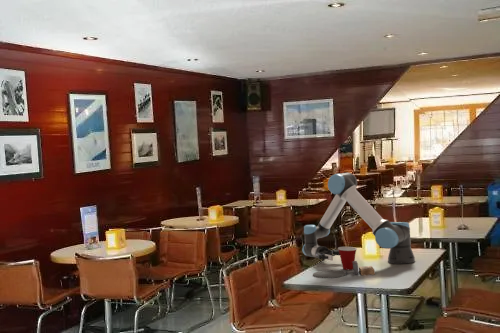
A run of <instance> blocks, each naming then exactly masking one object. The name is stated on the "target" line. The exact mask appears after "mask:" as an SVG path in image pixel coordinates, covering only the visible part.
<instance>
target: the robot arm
mask: <svg viewBox="0 0 500 333" xmlns="http://www.w3.org/2000/svg"><path fill="white" fill-rule="evenodd" d="M357 186H358V180H357V177H356V176H355V175H354V173H351V172H342V173H335V174H332V175H331V176H330V177H329V178H328V181H327V188H328V191H330V193H332V194H333V195H334V197H333V199H332V200H331V202H330V204H329V205H328V207H327V209H326V211H325V213H324V214H323V216H322V218H321V219H320V221H319V223H317V224H318V225H317V226H316V225H315V224H305V225H304V226H303V235H304V245H302V249H301V251H302V253H303V254H304V255H305V256H308V257H311V258H317V259H318V260H322V261H325V260H327V261H334V260H333V258H334V256H340V254H339V250H338V249H329V248H328V247H327V246H323V245H319V244H318V239H323V238H325V237H328V236H329V234H330V233H331V227H332V225H333V224H334V222H335V221H336V219H337V217H338V216H339V214H340V212H342V209H343V208H344V206H345V204H346V202H347V204H349V206H350V207H351V208H352V209H353V210H354V211H355V212H356V213H357V214H358V215H359V217H360V218H361V219H362V220H363V221H364V222H365V223H366V224H367V225H368V226H369V227H370V228H371V229H372V235H373V236H374V239H375V240H374V241H375V242H376V244H377V245H378V246H379V247H380V248H382V249H389V253H388V256H387V262H388V263H389V264H397V265H402V264H404V265H405V264H411V263H412V264H413V263H414V262H416V257H415V255H414V252H413V249H412V245H411V243H412V242H411V227H410V224H409V222H407V221H406V222H405V221H402V222H401V221H398V222H397V221H390V220H389V219H384V218H383V217H382V216H381V215H380V214H379V213H378V212H377V210H376V209H375V208H374V207H373V206H372V205H371V204H370V203H369V202H368V201H367V200H366V199H365V198H364V197H363V196H362V194H361V193H360V192H359V191H358V190H357Z"/></svg>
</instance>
